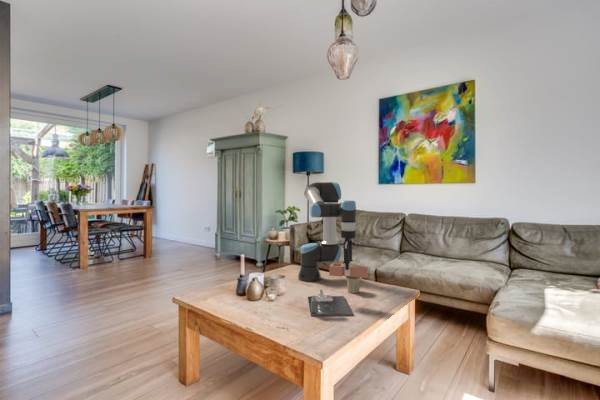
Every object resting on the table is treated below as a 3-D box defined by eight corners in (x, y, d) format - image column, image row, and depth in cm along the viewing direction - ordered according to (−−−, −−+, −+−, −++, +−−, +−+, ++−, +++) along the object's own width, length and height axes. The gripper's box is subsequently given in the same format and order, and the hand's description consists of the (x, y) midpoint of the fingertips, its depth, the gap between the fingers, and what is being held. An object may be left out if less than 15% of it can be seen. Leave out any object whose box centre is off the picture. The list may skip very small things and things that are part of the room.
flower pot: (360, 289, 186) (360, 275, 185) (362, 294, 176) (362, 279, 176) (345, 289, 187) (345, 274, 186) (345, 294, 177) (345, 279, 177)
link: (329, 275, 162) (329, 266, 162) (332, 272, 169) (332, 263, 168) (366, 278, 156) (366, 269, 156) (368, 275, 162) (368, 266, 162)
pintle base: (307, 298, 171) (307, 283, 170) (343, 297, 171) (343, 283, 171) (310, 316, 147) (310, 298, 146) (352, 315, 147) (352, 298, 147)
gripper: (344, 227, 170) (344, 270, 171) (337, 231, 155) (337, 278, 156) (357, 228, 168) (357, 271, 169) (352, 232, 153) (352, 279, 154)
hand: (348, 274), depth 162 cm, fingers closed on link, 3 cm apart
